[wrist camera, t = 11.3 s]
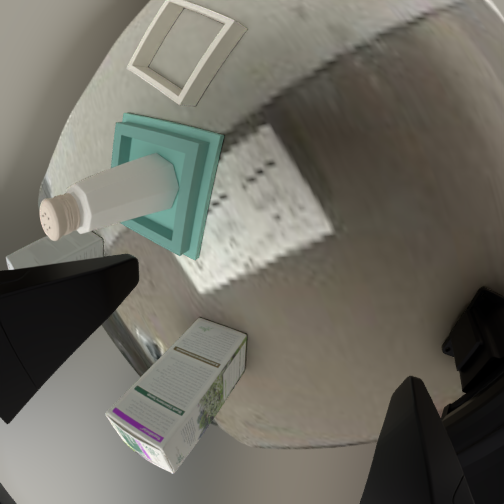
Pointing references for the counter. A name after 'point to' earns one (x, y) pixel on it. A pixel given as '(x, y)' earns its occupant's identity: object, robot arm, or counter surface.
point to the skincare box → (57, 250)
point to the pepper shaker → (111, 197)
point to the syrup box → (180, 394)
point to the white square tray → (207, 63)
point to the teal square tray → (187, 173)
